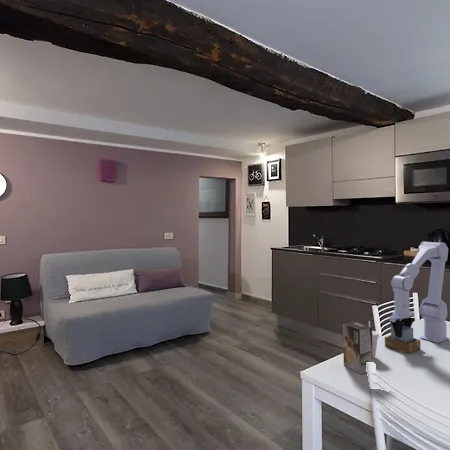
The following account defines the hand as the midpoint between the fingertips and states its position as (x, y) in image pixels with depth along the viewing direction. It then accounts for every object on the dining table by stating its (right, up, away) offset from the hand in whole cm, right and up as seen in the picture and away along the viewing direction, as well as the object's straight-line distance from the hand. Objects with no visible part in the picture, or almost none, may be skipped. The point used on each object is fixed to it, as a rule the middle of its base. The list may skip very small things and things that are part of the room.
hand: (402, 335), depth 149 cm
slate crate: (0, -2, 0) cm, 2 cm away
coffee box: (-26, -6, -19) cm, 33 cm away
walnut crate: (0, -5, 0) cm, 5 cm away
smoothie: (-17, -6, -8) cm, 20 cm away
